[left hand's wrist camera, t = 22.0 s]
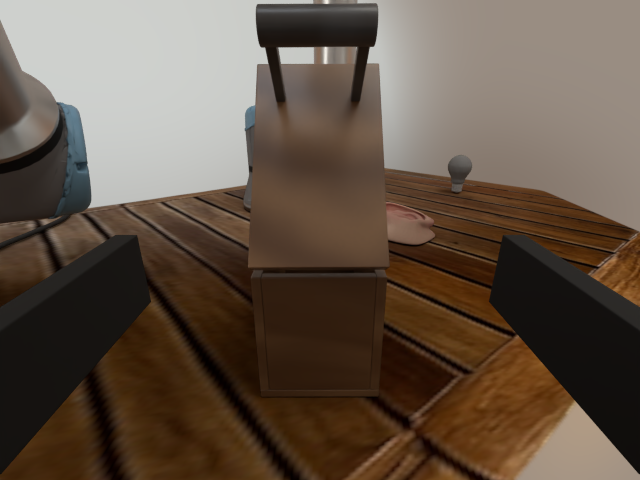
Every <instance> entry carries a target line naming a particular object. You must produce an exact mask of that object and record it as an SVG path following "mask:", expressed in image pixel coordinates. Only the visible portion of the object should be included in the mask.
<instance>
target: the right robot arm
mask: <svg viewBox="0 0 640 480" xmlns="http://www.w3.org/2000/svg"><path fill="white" fill-rule="evenodd" d="M314 4H357V0H314ZM355 57H356V47H314V64H355ZM245 126H246V128H245V131H246V141H247V153H248V164H249V179H248V183H247V187H246V191H245V195H244V208H245V209H246V210H247V211H250V212H251V192H252V170H253V148H254V127H255V106H251V107H249V108H248V109H247V110H246V113H245Z"/></svg>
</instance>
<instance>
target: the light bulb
mask: <svg viewBox="0 0 640 480" xmlns="http://www.w3.org/2000/svg"><path fill="white" fill-rule="evenodd" d="M471 169H472V163H471V160H470V159H469V158H468V157H466V156H464V155H458V156H455V157H454V158H452V159H451V161H450V162H449V164H448V171H449V173H450V175H451V181H452V189H451V190H452V191H453V192H456V193H458V192H460V191H462V190H461V188H462V185H463V183H464V181H465V178H466V177H467V175H468V174H469V173H470V171H471Z"/></svg>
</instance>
